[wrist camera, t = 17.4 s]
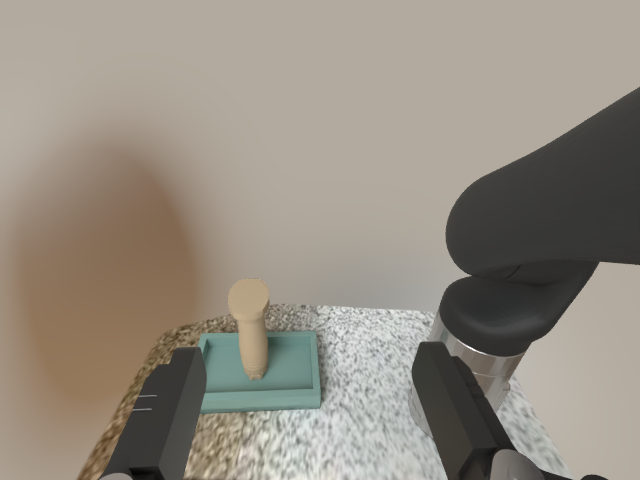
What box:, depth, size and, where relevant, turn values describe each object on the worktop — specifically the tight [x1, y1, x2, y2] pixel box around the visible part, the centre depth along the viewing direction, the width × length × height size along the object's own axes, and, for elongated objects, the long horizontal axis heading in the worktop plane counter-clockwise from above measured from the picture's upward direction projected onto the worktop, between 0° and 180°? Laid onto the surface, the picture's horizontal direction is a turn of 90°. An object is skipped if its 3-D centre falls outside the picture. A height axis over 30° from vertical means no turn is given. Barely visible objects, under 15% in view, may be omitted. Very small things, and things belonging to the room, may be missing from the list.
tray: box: [198, 331, 321, 414], centre depth 45 cm, size 18×11×3 cm, turn 94°
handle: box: [228, 278, 269, 380], centre depth 41 cm, size 5×6×15 cm
